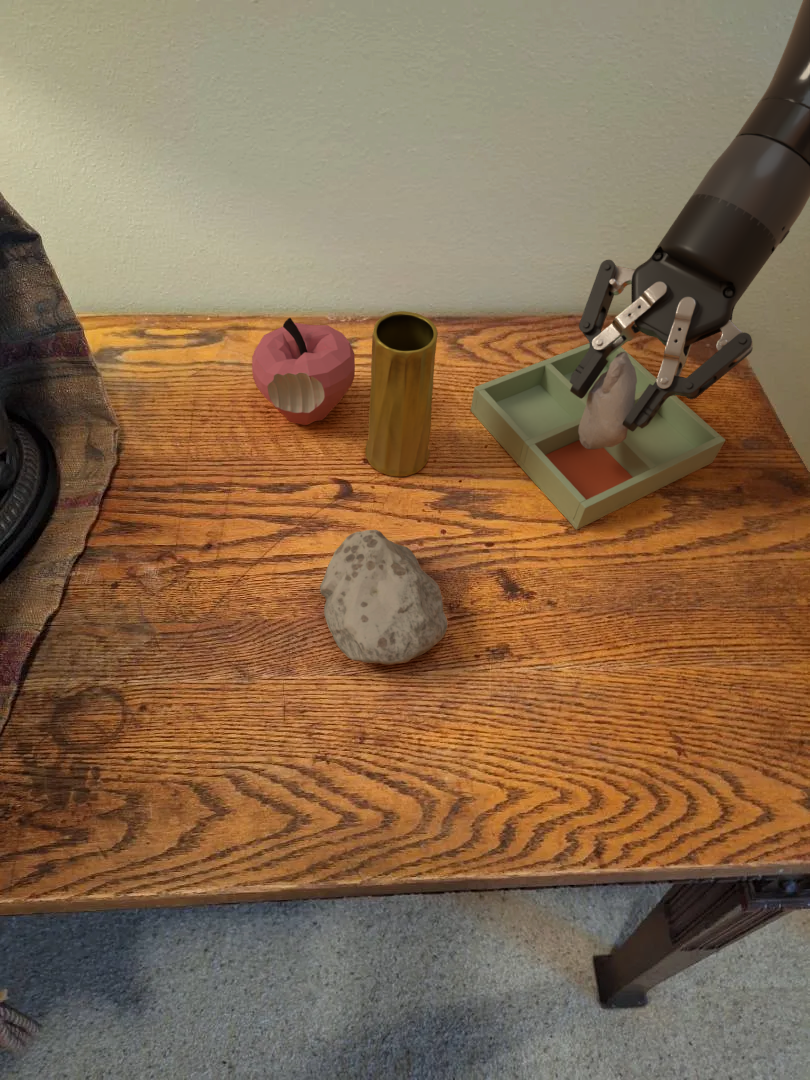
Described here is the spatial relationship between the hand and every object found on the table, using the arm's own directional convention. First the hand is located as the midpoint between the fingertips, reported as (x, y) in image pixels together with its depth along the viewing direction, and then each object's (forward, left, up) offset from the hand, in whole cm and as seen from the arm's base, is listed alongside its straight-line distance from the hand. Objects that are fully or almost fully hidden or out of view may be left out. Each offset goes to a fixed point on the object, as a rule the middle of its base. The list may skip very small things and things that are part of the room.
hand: (602, 410), depth 60 cm
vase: (+12, +12, -10) cm, 20 cm away
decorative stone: (-2, +22, -10) cm, 25 cm away
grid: (+5, -6, -10) cm, 12 cm away
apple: (+21, +17, -10) cm, 29 cm away
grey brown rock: (+1, -2, -6) cm, 7 cm away
